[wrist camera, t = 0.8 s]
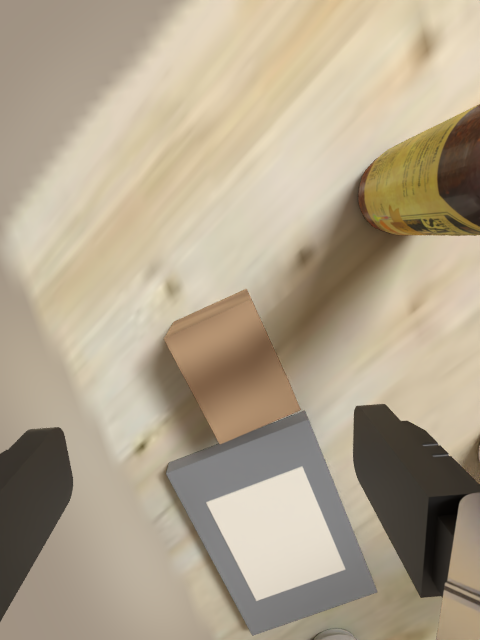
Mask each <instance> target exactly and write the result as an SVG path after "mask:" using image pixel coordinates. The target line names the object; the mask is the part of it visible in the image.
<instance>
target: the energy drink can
mask: <svg viewBox="0 0 480 640" xmlns="http://www.w3.org/2000/svg"><path fill="white" fill-rule="evenodd" d="M313 640H357V639H355V637H354V636H353V635H352V634H351V633H350V632H348V631H346V630H343V629H328V630H325V631H323V632H321V633H319V634H318V635H317V636H316V637H315V638H314V639H313Z"/></svg>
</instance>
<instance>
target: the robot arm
mask: <svg viewBox="0 0 480 640" xmlns="http://www.w3.org/2000/svg"><path fill="white" fill-rule="evenodd" d="M353 461H354V467H355V472H356V475H357V478H358V480H359V482H360V484H361V486H362V488H363V490H364V492H365V494H366V496H367V497H368V499H369V501H370V503H371V505H372V507H373V509H374V511H375V512H376V514H377V516H378V518H379V520H380V522H381V524H382V526H383V527H384V529H385V531H386V533H387V535H388V537H389V539H390V541H391V543H392V544H393V546H394V548H395V550H396V552H397V554H398V556H399V558H400V559H401V561H402V563H403V565H404V567H405V569H406V571H407V573H408V574H409V576H410V578H411V580H412V582H413V584H414V586H415V588H416V589H417V591H418V593H419V595H420V597H421V598H423V597H435V596H442V598H443V599H442V605H441V611H440V618H439V624H438V630H437V636H436V640H480V485H479V484H478V483H477V482H476V481H475V480H474V479H473V478H472V477H471V476H470V475H469V474H468V473H467V472H466V471H465V470H464V469H463V468H462V467H461V466H460V465H459V464H458V463H457V462H456V461H455V460H454V459H453V458H452V457H451V456H449V455H448V453H447V452H446V451H445V450H444V449H443V448H442V447H441V446H438V443H437V442H436V441H435V440H434V439H433V438H432V437H431V436H430V435H429V434H428V433H427V432H426V431H425V430H423V429H422V428H420V427H418V426H416V425H414V424H412V423H411V422H409V421H400V420H399V419H398V418H397V416H396V415H395V414H394V413H393V412H392V411H391V410H390V409H389V408H388V407H387V406H386V405H385V404H377V405H363V406H356V408H355V410H354V438H353ZM72 489H73V477H72V471H71V466H70V461H69V456H68V451H67V446H66V441H65V436H64V433H63V431H62V430H61V428H59V427H57V428H56V427H55V428H42V429H30V430H28V431H26V432H25V433H24V434H23V435H22V436H21V437H20V438H19V439H18V440H17V442H15V444H13V445H12V446H11V447H10V448H9V450H6V451H4V452H3V453H1V454H0V621H1V620H2V618H3V616H4V614H5V612H6V611H7V609H8V607H9V606H10V603H11V602H12V600H13V599H14V597H15V595H16V593H17V592H18V590H19V588H20V586H21V585H22V583H23V581H24V579H25V578H26V576H27V574H28V572H29V571H30V569H31V567H32V566H33V564H34V562H35V560H36V558H37V557H38V555H39V553H40V552H41V550H42V548H43V546H44V545H45V543H46V541H47V539H48V538H49V536H50V534H51V532H52V531H53V529H54V527H55V525H56V524H57V522H58V520H59V519H60V517H61V515H62V513H63V512H64V510H65V508H66V506H67V505H68V503H69V501H70V498H71V494H72Z"/></svg>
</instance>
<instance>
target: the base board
mask: <svg viewBox="0 0 480 640" xmlns="http://www.w3.org/2000/svg"><path fill="white" fill-rule="evenodd" d="M166 475H167V476H168V478H169V480H170V482H171V484H172V486H173V488H174V490H175V491H176V493H177V495H178V497H179V499H180V501H181V503H182V505H183V506H184V508H185V510H186V512H187V514H188V516H189V518H190V520H191V521H192V523H193V525H194V527H195V529H196V531H197V533H198V535H199V537H200V538H201V540H202V542H203V544H204V546H205V548H206V550H207V552H208V553H209V555H210V557H211V559H212V561H213V563H214V565H215V567H216V568H217V570H218V572H219V574H220V576H221V578H222V580H223V582H224V583H225V585H226V587H227V589H228V591H229V593H230V595H231V597H232V598H233V600H234V602H235V604H236V606H237V608H238V610H239V612H240V613H241V615H242V617H243V619H244V621H245V623H246V625H247V627H248V629H249V630H250V632H251V634H252V636H253V635H256V634H259V633H262V632H265V631H268V630H270V629H273V628H276V627H279V626H282V625H285V624H288V623H291V622H293V621H296V620H299V619H302V618H305V617H308V616H311V615H314V614H316V613H319V612H322V611H325V610H328V609H331V608H334V607H337V606H339V605H342V604H345V603H348V602H351V601H354V600H357V599H360V598H362V597H365V596H368V595H371V594H374V593H377V589H376V587H375V584H374V582H373V579H372V577H371V574H370V572H369V569H368V567H367V564H366V562H365V559H364V557H363V554H362V552H361V549H360V547H359V544H358V542H357V539H356V537H355V534H354V532H353V529H352V527H351V524H350V522H349V519H348V517H347V514H346V512H345V509H344V507H343V504H342V502H341V499H340V497H339V494H338V492H337V489H336V487H335V484H334V482H333V479H332V477H331V474H330V472H329V469H328V467H327V464H326V462H325V459H324V457H323V454H322V452H321V449H320V447H319V444H318V442H317V439H316V437H315V434H314V432H313V429H312V427H311V424H310V422H309V419H308V417H307V415H306V412H305V411H302V412H300V413H297V414H295V415H292V416H289V417H287V418H284V419H282V420H279V421H276V422H274V423H271V424H269V425H266V426H263V427H261V428H258V429H256V430H253V431H251V432H248V433H246V434H244V435H241V436H239V437H237V438H234V439H232V440H229V441H227V442H225V443H222V444H216V445H214V446H211V447H209V448H206V449H203V450H201V451H198V452H196V453H193V454H190V455H188V456H185V457H183V458H180V459H177V460H175V461H172V462H170V463H169V464H168V468H167V472H166Z"/></svg>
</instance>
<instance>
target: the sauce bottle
mask: <svg viewBox="0 0 480 640" xmlns="http://www.w3.org/2000/svg"><path fill="white" fill-rule="evenodd" d="M358 197H359V206H360V209H361V212H362V214H363V216H364V217H365V219H366V220H367V221H368V222H369V223H370V224H371V225H372V226H373V227H375V228H377V229H379V230H382V231H386V232H388V233H391V234H395V235H451V236H460V235H474V236H476V235H480V104H479V105H477V106H475V107H473V108H471V109H469V110H467V111H465V112H463V113H461V114H459V115H457V116H455V117H453V118H451V119H449V120H447V121H445V122H443V123H441V124H439V125H436V126H434V127H432V128H430V129H428V130H426V131H424V132H422V133H420V134H418V135H416V136H414V137H412V138H410V139H408V140H406V141H404V142H402V143H400V144H398V145H396V146H394V147H392V148H390V149H389V150H387V151H386V152H384V153H383V154H382V155H381V156H380V157H378V158H377V159H375V160H374V162H373V163H372V164H371V165H370V166H369V167H368V169H366V171H365V172H364V174H363V176H362V178H361V182H360V185H359V192H358Z"/></svg>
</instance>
